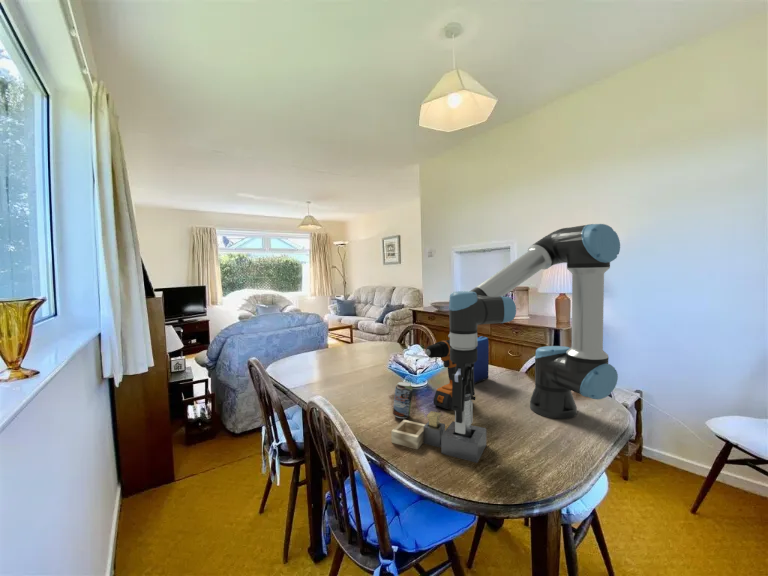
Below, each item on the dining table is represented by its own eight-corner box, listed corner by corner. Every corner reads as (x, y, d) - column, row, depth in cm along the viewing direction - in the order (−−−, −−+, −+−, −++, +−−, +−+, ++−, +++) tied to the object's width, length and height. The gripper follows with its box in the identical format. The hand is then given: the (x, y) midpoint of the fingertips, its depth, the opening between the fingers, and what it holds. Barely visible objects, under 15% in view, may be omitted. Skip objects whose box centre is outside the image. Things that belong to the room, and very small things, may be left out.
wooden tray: (428, 439, 105) (428, 425, 105) (417, 452, 98) (417, 437, 98) (404, 433, 109) (403, 419, 109) (391, 445, 102) (391, 431, 102)
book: (481, 376, 162) (480, 334, 161) (491, 379, 158) (490, 336, 156) (462, 384, 153) (461, 339, 151) (472, 387, 149) (472, 341, 147)
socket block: (486, 448, 99) (486, 428, 99) (477, 466, 91) (477, 444, 90) (432, 435, 107) (432, 417, 107) (420, 450, 99) (419, 430, 98)
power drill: (435, 417, 120) (434, 347, 119) (420, 410, 126) (419, 343, 124) (473, 400, 134) (472, 337, 132) (458, 395, 140) (457, 335, 138)
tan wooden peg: (441, 438, 102) (441, 413, 102) (437, 443, 100) (437, 417, 99) (431, 436, 104) (431, 411, 103) (427, 440, 101) (427, 415, 101)
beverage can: (389, 417, 121) (388, 384, 120) (403, 410, 126) (402, 378, 126) (402, 422, 117) (401, 388, 116) (416, 415, 122) (415, 382, 121)
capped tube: (473, 447, 98) (472, 392, 97) (469, 454, 94) (468, 397, 94) (459, 444, 100) (458, 390, 99) (455, 450, 97) (453, 395, 96)
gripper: (460, 338, 106) (461, 411, 107) (438, 353, 89) (439, 439, 90) (485, 341, 102) (485, 416, 103) (466, 357, 85) (467, 446, 87)
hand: (464, 427), depth 97 cm, fingers open, 6 cm apart
